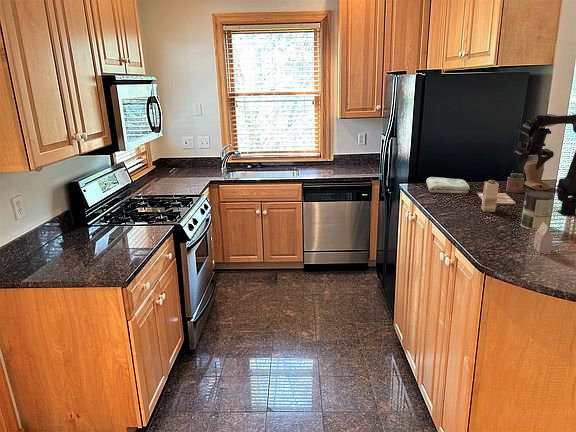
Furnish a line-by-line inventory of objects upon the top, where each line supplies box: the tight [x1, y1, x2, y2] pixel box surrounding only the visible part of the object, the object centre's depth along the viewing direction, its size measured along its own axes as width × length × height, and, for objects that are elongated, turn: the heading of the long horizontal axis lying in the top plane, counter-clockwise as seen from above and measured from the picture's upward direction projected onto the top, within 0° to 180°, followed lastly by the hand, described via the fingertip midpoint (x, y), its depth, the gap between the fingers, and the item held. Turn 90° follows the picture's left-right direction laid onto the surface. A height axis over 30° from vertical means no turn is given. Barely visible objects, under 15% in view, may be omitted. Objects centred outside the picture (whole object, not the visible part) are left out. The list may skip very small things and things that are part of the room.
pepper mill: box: [481, 179, 500, 213], centre depth 201 cm, size 5×5×14 cm
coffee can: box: [520, 190, 555, 231], centre depth 178 cm, size 10×10×14 cm
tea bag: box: [532, 222, 554, 255], centre depth 155 cm, size 4×7×10 cm, turn 166°
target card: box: [476, 192, 517, 205], centre depth 220 cm, size 18×14×1 cm
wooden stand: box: [523, 159, 552, 191], centre depth 238 cm, size 15×12×15 cm
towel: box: [425, 176, 471, 194], centre depth 241 cm, size 18×21×5 cm
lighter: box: [505, 172, 525, 194], centre depth 231 cm, size 8×3×10 cm, turn 62°
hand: (528, 170), depth 216 cm, fingers open, 9 cm apart
